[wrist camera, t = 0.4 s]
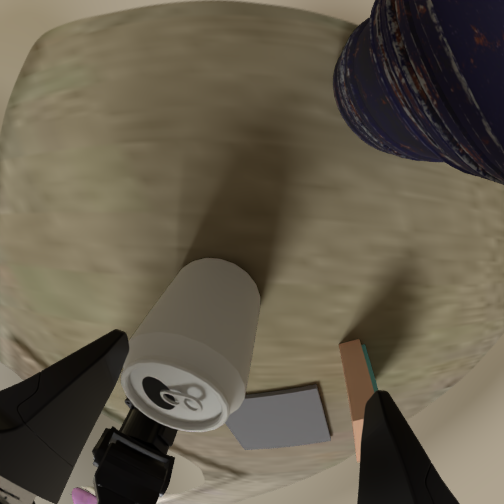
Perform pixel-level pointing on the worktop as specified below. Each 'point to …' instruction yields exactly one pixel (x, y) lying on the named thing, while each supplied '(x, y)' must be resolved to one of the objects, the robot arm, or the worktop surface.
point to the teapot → (83, 497)
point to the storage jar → (428, 82)
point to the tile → (357, 384)
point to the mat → (280, 419)
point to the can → (195, 348)
